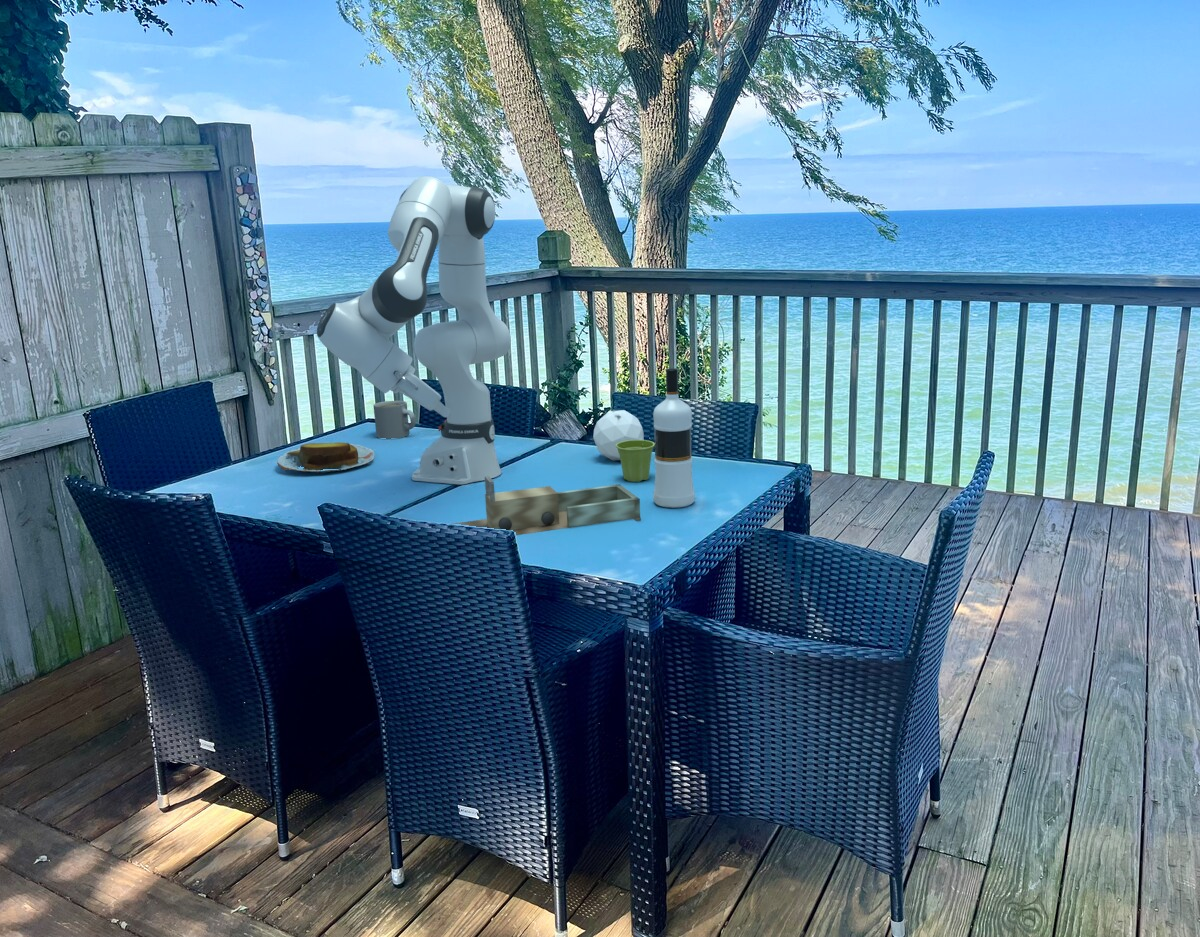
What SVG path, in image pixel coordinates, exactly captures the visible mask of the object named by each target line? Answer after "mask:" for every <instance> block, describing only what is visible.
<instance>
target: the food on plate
mask: <svg viewBox="0 0 1200 937" xmlns="http://www.w3.org/2000/svg"><path fill="white" fill-rule="evenodd" d="M374 458H375V451H374V450H373V449H371V448H368V447H366V446H363V445H360V444H353V443H349V442H317V443H315V442H313V443H311V442H310V443H304V444H301V445H300V447H298V448H296V449H295V448H294V449H290V450H288V451H286V452H284V453H283V454H281V455H280V456H279V457H278V458H277V461H276V464H277V465H278V466H280V469H281V470H284V471H287V470H290V471H291V470H294V471H301V472H310V473H329V472H330V471H332V472H337V471H339V470H325V471H321V470H323V469H341V470H340V471H343V470H344V471H346V470H347V469H351V468H354V467H359V466H362V465H366V464H368V463H370V462H372V461H374ZM358 461H361V463H359V462H358ZM300 466H301V467H304V468H303V470H302V469H299V468H298V467H300ZM330 473H331V472H330Z"/></svg>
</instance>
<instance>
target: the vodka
mask: <svg viewBox="0 0 1200 937" xmlns="http://www.w3.org/2000/svg"><path fill="white" fill-rule="evenodd" d="M665 379H666V380H665V384H666V386H665V387H666V389H665V390H666V396H665V397H666V398H665V399H664V400H662V401H661V402H660V403H659V404H658V405H656V406H655V407H654V410H653V412H652V416H653V428H654V443H655V446H654V459H653V461H654V467H655V477H654V490H653V492H652V493H653V494H652V495H653V496H652V499H653V502H654V504H656V505H657V506H660V507H661V508H668V509H677V508H678V509H679V508H685V507H688V506H690V505H691V504H693V503H694V502H695V500H696V492H695V489H694V481H693V461H694V459H693V457H692V426H693V423H692V419H693V412H692V408H691V407H690V405H689V404H687V403H686V402H685V401H682V400H681V399H680V398H679V369H678V368H675V367H670V368H667V369H666V370H665Z"/></svg>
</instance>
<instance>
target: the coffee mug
mask: <svg viewBox="0 0 1200 937" xmlns="http://www.w3.org/2000/svg"><path fill="white" fill-rule="evenodd" d="M407 403H408V402H407V401H404V400H386V401H380V402H376V403H373V404H372V405H373V414H374V424H375V425H374V426H375V434H376V438H377V437H378V438H377V439H379V438H386V439H385V440H391V439H390V438H399V439H402V438H401V437H404V438H406V437H405V436H407V437H409V436H410V435H409V434H411V433H410V430H412V429H414V428H415V426H416V421H417V420H416V415H415V413H414V411H412V410H409V409H408V404H407ZM409 420H410V421H409ZM408 435H409V436H408Z"/></svg>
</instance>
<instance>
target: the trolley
mask: <svg viewBox="0 0 1200 937" xmlns="http://www.w3.org/2000/svg"><path fill="white" fill-rule="evenodd" d="M494 483H495V482H494V480H493V478H490V477H489V476H485V480H484V488H485V493H484V498H485V512H486V513H485V514H486V519H487V525H488V526H489V527H490V528H494V529H506V530H515V529H522V528H529V527H537V526H544V525H551V524H558V523H559V505H558V493H557V491H556V490H555V489H553V487H551V485H548V486H541V487H533V488H524V489H518V490H508V491H507V490H506V491H500V492H495V484H494Z"/></svg>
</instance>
